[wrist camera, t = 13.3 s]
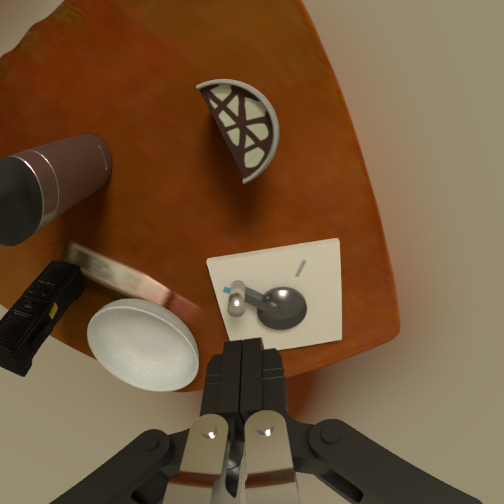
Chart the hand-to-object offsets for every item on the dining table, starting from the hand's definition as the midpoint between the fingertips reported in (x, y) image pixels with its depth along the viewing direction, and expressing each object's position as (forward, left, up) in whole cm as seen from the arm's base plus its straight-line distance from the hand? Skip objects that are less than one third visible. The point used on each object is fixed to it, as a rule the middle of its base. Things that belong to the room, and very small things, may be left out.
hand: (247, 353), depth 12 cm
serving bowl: (-24, -24, -32) cm, 47 cm away
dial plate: (+1, -21, -32) cm, 38 cm away
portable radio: (-36, -10, -32) cm, 49 cm away
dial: (-1, -19, -30) cm, 36 cm away
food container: (+1, +8, -32) cm, 33 cm away
